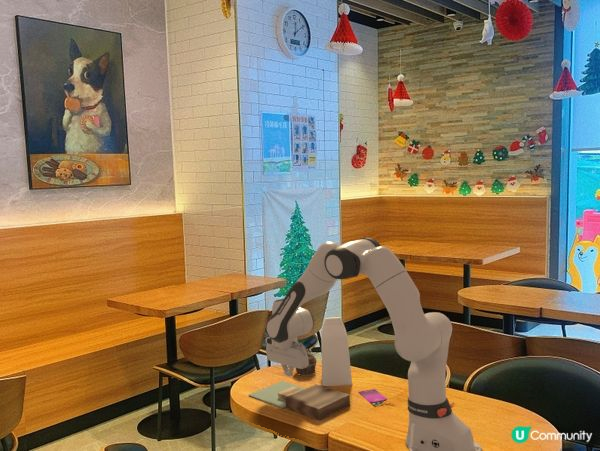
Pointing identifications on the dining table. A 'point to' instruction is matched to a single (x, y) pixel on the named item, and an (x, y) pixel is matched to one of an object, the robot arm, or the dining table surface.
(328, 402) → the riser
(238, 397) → the dining table surface
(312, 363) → the cupcake
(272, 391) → the mat
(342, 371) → the milk
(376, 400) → the smartphone
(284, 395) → the coaster
